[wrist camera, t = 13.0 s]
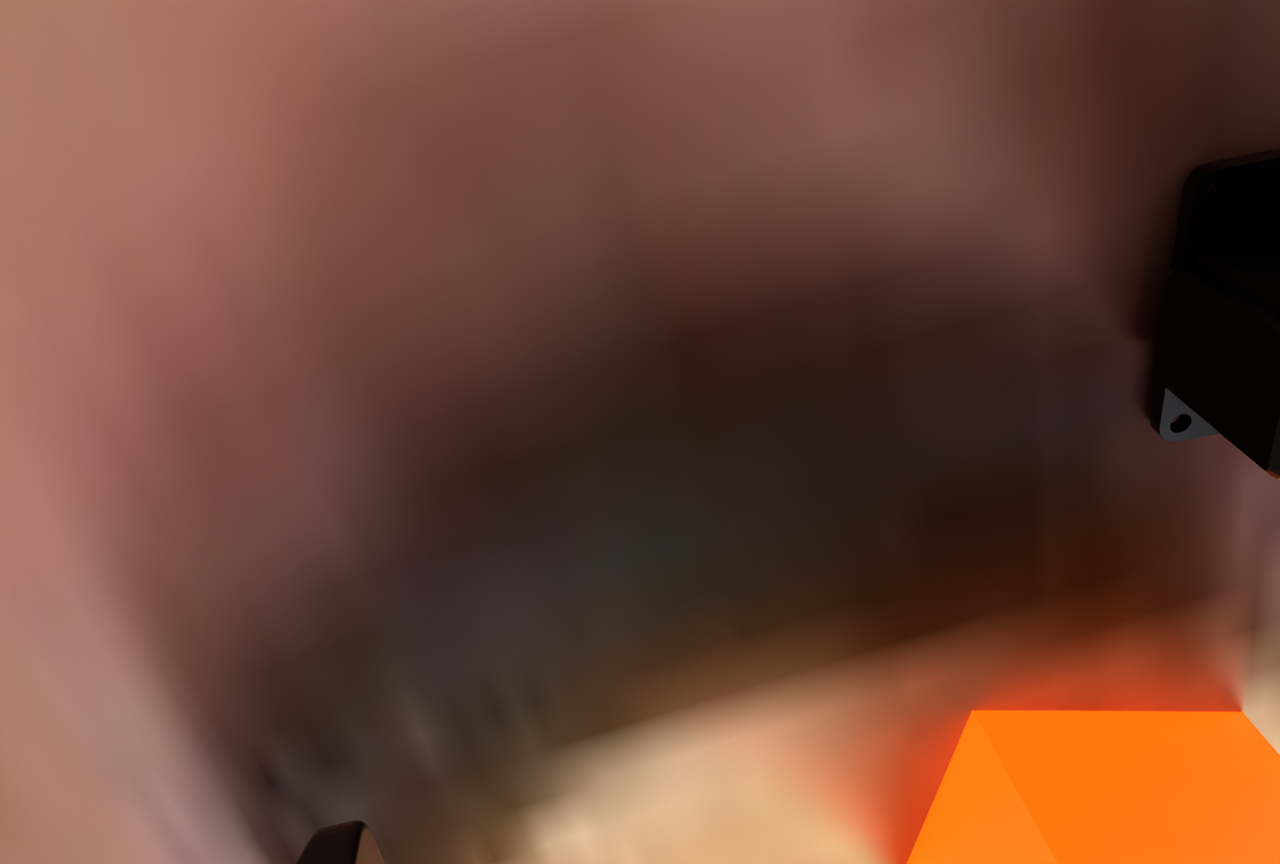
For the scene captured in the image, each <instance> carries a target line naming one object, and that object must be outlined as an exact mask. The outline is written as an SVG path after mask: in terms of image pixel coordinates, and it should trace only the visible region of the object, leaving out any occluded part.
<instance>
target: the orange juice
mask: <svg viewBox="0 0 1280 864" xmlns="http://www.w3.org/2000/svg"><path fill="white" fill-rule="evenodd" d="M907 864H1280V755H1279V754H1278V753H1277V752H1276V751H1275V749H1274V748H1273V747H1272V746H1271V745H1270V744H1269V742H1268V741H1267V740H1266V739H1265V738H1264V737H1263V735H1262V734H1261V733H1260V732H1259V731H1258V730H1257V728H1256V727H1255V726H1254V725H1253V724H1252V723H1251V721H1250V720H1249V719H1248V718H1247V717H1246V715H1245V714H1244V713H1243V712H1171V711H1017V710H972V712H971V714H970V717H969V719H968V721H967V724H966V726H965V728H964V731H963V733H962V735H961V738H960V740H959V742H958V745H957V747H956V750H955V752H954V754H953V757H952V759H951V761H950V764H949V766H948V768H947V771H946V773H945V775H944V778H943V780H942V782H941V785H940V787H939V789H938V792H937V794H936V796H935V799H934V801H933V803H932V806H931V808H930V810H929V813H928V815H927V817H926V820H925V822H924V824H923V827H922V829H921V831H920V834H919V836H918V838H917V841H916V843H915V845H914V848H913V850H912V852H911V855H910V857H909V859H908V862H907Z"/></svg>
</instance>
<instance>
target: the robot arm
mask: <svg viewBox="0 0 1280 864" xmlns="http://www.w3.org/2000/svg"><path fill="white" fill-rule="evenodd" d="M1214 182H1217V187H1216V189H1215V191H1214V192H1213V193H1212V194H1211V195H1210V196H1209V197H1206V198H1205V194H1206V191H1207V189H1208V188H1209V187H1210V186H1211V185H1212V184H1213V183H1214ZM1154 378H1155V379H1156V380H1155V387H1154V394H1153V402H1152V409H1151V416H1150V424H1151V427H1152V428H1153V429H1154V431H1155V432H1156V433H1158V434H1159V435H1160V436H1161V437H1162V438H1163V439H1164V440H1167V441H1169V442H1179V441H1184V440H1189V439H1194V438H1198V437H1203V436H1208V435H1213V434H1218V433H1220V434H1222V435H1223V436H1224V437H1225V438H1226V439H1228V440H1229V441H1230V442H1231V443H1232V444H1234V445H1235V446H1236V447H1237V448H1238V449H1240V450H1241V451H1242V452H1243V453H1244V454H1246V455H1247V456H1248V457H1249V458H1250V459H1252V460H1253V461H1254V462H1255V463H1256V464H1258V465H1259V466H1260V467H1261V468H1262V469H1263V470H1265V471H1266V472H1267V473H1269V474H1270V475H1271V476H1273V477H1275V478H1277V479H1278V478H1280V149H1277V150H1272V151H1267V152H1262V153H1257V154H1252V155H1246V156H1241V157H1236V158H1231V159H1226V160H1220V161H1215V162H1210V163H1207V164H1204V165H1202V166H1199V167H1198V168H1197V169H1196V170H1194V171H1193V172H1192V173H1191V174H1190V175H1189V177H1188V178H1187V180H1186V181H1185V183H1184V186H1183V189H1182V194H1181V201H1180V208H1179V215H1178V222H1177V230H1176V237H1175V244H1174V251H1173V258H1172V265H1171V273H1170V274H1169V276H1168V278H1167V280H1166V287H1165V294H1164V301H1163V308H1162V316H1161V323H1160V330H1159V338H1158V345H1157V352H1156V359H1155V367H1154ZM1179 415H1180V417H1179V418H1178V419H1177V420H1176V421H1175V422H1173V423H1171V422H1172V420H1173V419H1174V418H1175V417H1176V416H1179ZM294 864H385V863H384V860H383V858H382V856H381V854H380V851H379V849H378V847H377V845H376V842H375V840H374V838H373V836H372V833H371V831H370V829H369V828H368V826H367V825H366V824H365V823H364V822H362V821H352V822H347V823H342V824H338V825H333V826H328V827H324V828H321V829H319V830H317V831H316V832H315V833H314V834H313V835H312V836H311V837H310V838H309V840H308V841H307V843H306V845H305V846H304V848H303V850H302V851H301V853H300V855H299V856H298V858H297V860H296V861H295V863H294Z"/></svg>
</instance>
